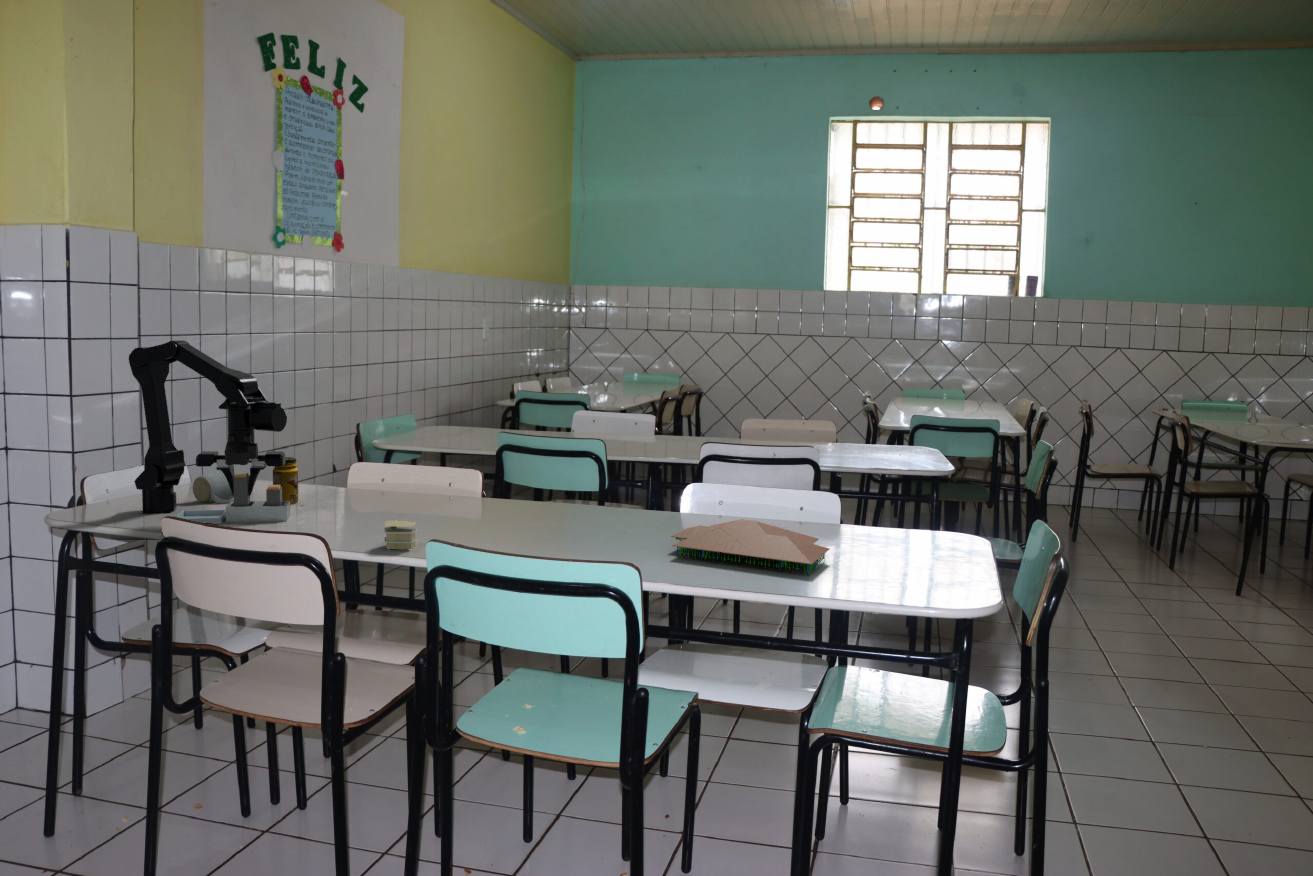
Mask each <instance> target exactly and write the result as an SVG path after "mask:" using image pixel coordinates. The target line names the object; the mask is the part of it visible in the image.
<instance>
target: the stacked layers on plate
mask: <svg viewBox="0 0 1313 876" xmlns="http://www.w3.org/2000/svg"><path fill="white" fill-rule="evenodd" d="M416 524H417V522H415V521H404V520H392V519H391V520H386V521H384V526H385V527H384V533H385V534H386V535H385V536H384V542H385V543H386V544H385V545H386V547H385V548H387V549H412V548H413V547H414V546H415V547H416V541H418V537H416V532H417V530H418V527H417V528H416V527H415V528H414V526H415V525H416ZM415 547H414V548H415ZM414 548H413V549H414ZM387 549H386V550H387ZM413 549H412V550H413Z"/></svg>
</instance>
